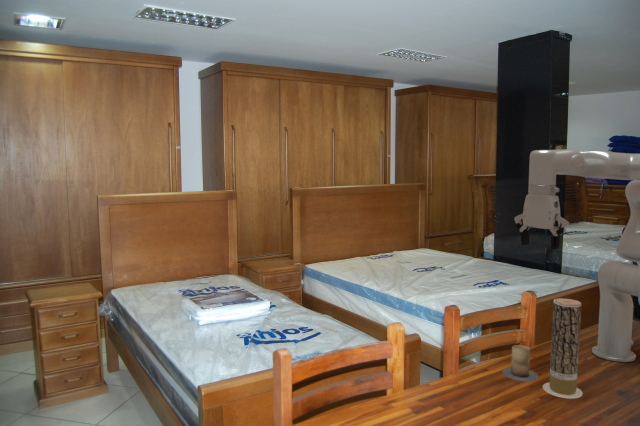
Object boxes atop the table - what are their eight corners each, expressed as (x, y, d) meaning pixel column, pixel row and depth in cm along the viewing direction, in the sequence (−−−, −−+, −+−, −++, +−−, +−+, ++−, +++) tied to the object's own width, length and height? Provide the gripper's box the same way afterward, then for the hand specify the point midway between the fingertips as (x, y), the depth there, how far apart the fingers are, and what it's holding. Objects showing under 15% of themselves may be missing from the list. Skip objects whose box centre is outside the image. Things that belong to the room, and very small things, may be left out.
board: (516, 367, 157) (516, 363, 157) (591, 394, 138) (591, 390, 138) (493, 376, 150) (493, 373, 150) (568, 407, 131) (568, 402, 131)
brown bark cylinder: (579, 396, 135) (584, 306, 132) (552, 394, 136) (557, 304, 134) (572, 385, 141) (577, 299, 139) (546, 383, 143) (550, 297, 140)
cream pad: (554, 379, 146) (554, 379, 146) (589, 392, 137) (589, 391, 137) (535, 388, 140) (535, 388, 140) (570, 402, 132) (570, 401, 132)
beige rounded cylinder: (517, 369, 153) (518, 343, 152) (532, 374, 149) (533, 348, 148) (507, 373, 150) (508, 347, 149) (522, 379, 146) (523, 352, 145)
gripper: (576, 191, 147) (573, 249, 149) (523, 189, 161) (521, 241, 163) (562, 192, 143) (560, 251, 144) (509, 190, 157) (507, 244, 158)
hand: (539, 246), depth 153 cm, fingers open, 9 cm apart
